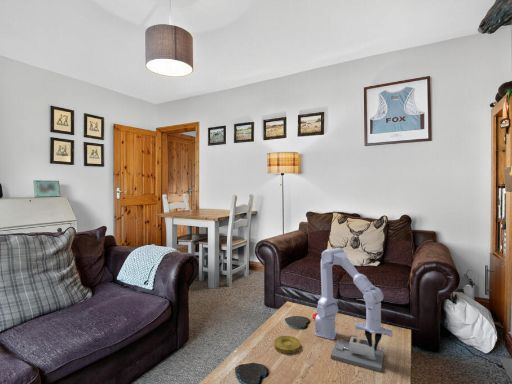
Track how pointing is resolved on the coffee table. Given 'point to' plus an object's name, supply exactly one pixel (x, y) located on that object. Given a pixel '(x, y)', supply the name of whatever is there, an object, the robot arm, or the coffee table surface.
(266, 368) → the coffee table surface
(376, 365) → the board
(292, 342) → the olive flat disc
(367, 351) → the steel link
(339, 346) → the chain anchor
